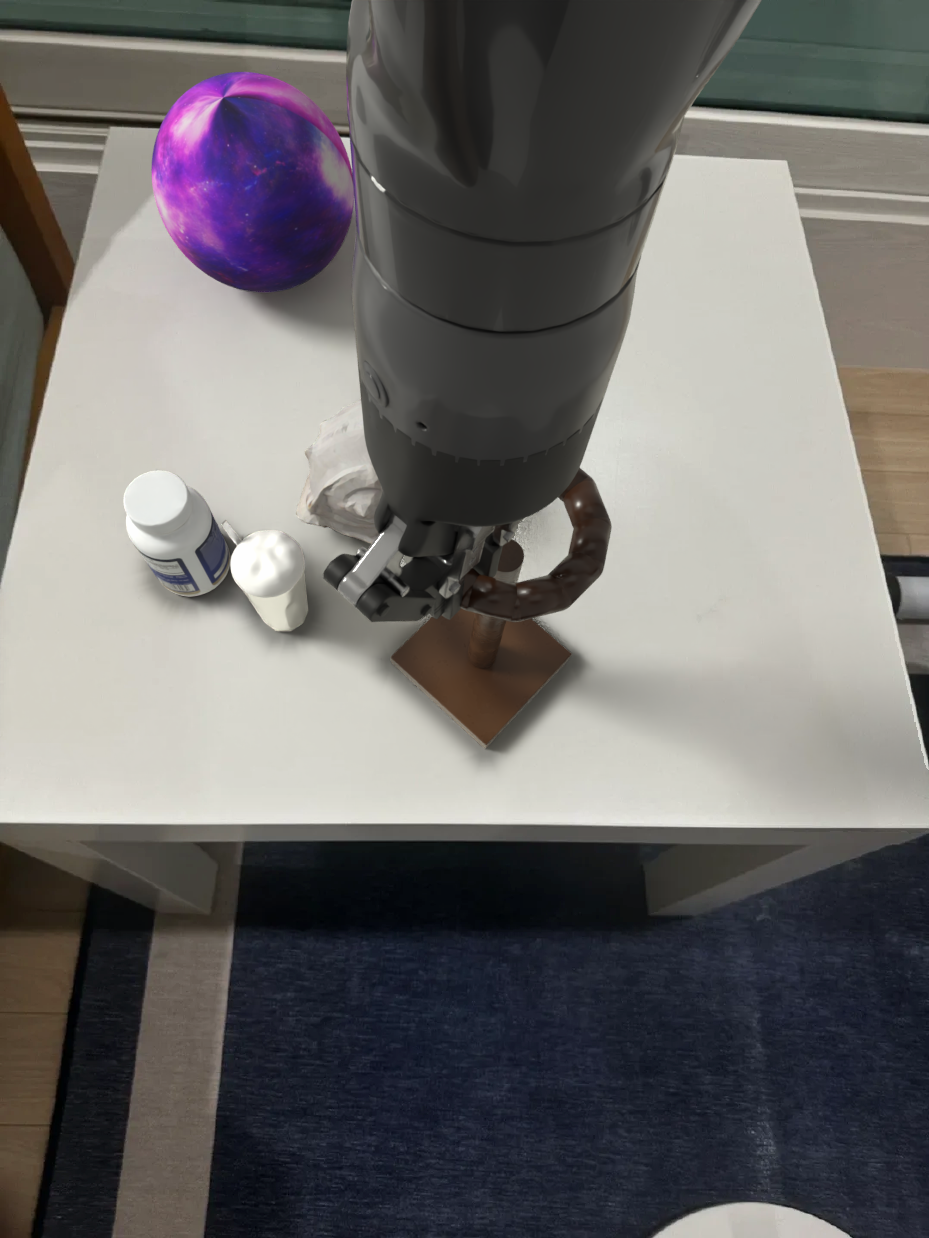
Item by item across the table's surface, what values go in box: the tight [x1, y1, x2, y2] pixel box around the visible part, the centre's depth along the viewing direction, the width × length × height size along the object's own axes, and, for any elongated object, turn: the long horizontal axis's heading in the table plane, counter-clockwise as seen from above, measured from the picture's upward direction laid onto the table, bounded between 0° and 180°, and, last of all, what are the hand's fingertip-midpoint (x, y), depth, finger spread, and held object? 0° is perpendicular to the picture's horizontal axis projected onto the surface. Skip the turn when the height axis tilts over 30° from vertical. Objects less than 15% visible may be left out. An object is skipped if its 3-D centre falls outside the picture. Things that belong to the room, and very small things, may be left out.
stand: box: [389, 538, 573, 750], centre depth 52 cm, size 9×9×17 cm
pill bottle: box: [122, 469, 231, 597], centre depth 57 cm, size 5×5×10 cm
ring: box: [460, 467, 613, 622], centre depth 41 cm, size 10×10×2 cm
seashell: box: [295, 398, 383, 545], centre depth 61 cm, size 12×14×10 cm
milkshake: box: [220, 519, 309, 632], centre depth 56 cm, size 4×5×10 cm
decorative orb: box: [151, 71, 355, 293], centre depth 65 cm, size 15×15×15 cm
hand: (456, 584), depth 41 cm, fingers closed on ring, 2 cm apart
